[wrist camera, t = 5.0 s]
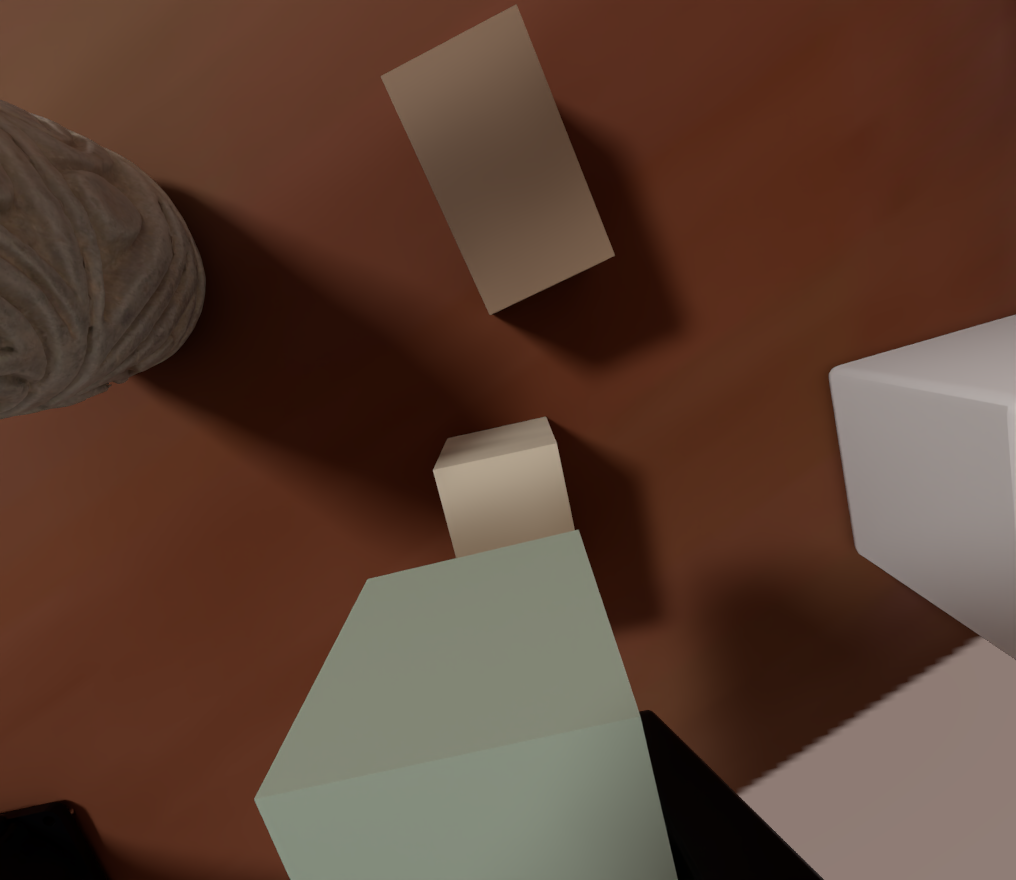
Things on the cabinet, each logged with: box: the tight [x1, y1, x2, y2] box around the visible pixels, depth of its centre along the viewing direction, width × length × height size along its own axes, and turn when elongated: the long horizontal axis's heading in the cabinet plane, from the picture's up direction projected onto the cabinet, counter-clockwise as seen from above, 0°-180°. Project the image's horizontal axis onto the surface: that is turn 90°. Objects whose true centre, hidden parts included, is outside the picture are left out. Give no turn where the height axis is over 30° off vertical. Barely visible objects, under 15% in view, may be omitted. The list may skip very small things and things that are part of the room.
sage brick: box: [254, 530, 678, 880], centre depth 7 cm, size 6×4×4 cm, turn 14°
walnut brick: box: [381, 4, 615, 315], centre depth 15 cm, size 6×4×4 cm, turn 25°
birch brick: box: [433, 417, 575, 558], centre depth 17 cm, size 6×4×4 cm, turn 13°
